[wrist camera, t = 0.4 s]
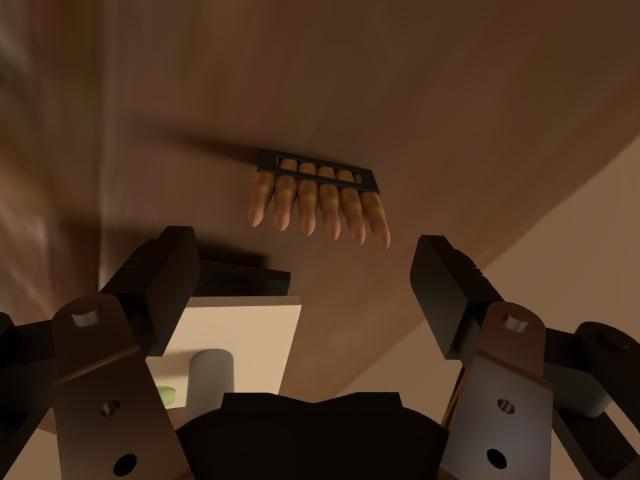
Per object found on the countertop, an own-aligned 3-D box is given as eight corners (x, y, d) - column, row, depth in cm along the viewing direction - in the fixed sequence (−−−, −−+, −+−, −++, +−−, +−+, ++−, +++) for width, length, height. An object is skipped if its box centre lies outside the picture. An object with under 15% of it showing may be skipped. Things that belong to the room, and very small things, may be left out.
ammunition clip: (259, 167, 30) (236, 235, 20) (261, 147, 29) (238, 209, 19) (366, 188, 31) (395, 260, 21) (372, 170, 30) (405, 238, 20)
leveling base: (172, 239, 34) (142, 286, 28) (291, 258, 36) (288, 306, 30) (175, 323, 41) (151, 375, 35) (274, 334, 43) (269, 386, 37)
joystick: (115, 297, 25) (56, 456, 16) (299, 295, 30) (331, 415, 21) (133, 401, 33) (100, 544, 24) (275, 386, 38) (291, 500, 29)
